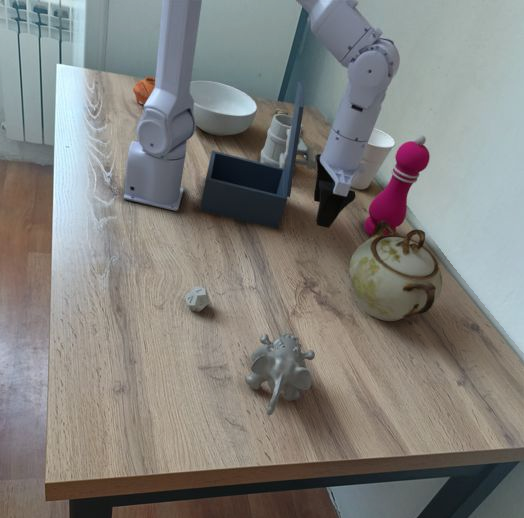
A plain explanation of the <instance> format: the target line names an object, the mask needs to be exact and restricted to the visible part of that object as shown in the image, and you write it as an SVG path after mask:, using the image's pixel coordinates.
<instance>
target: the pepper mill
mask: <svg viewBox="0 0 524 518" xmlns="http://www.w3.org/2000/svg"><path fill="white" fill-rule="evenodd" d="M426 139H427V138H426V137H425V136H424V135H423V134H419V135H417V136H416V137H415V139H414V140H410V141H406V142H404V143H403V144H401V145H399V147H398V148H397V150H396V153H395V156H394V157H395V163H394V164H393V166H392V169H391V172H390V174H391V177H390V180H389V182H388V184H387V185H386V187H384V188H383V190H382V191H381V192H379V194H377V195H376V196H375V197H374V198H373V200H372V201H371V203H370V204H369V207H368V215H369V216H367V218H366V219H365V221H364V224H363V229H364V232H366V234H368V236H370V237H372V236H373V230H374V228H375V226H376V224H377V223H378V222H380V221H386V222H387V223H388V224H389V225H390V227H391V228H392V229H393V230H394V231H395V232H396V233H397V227H399V226H401V225H403V223H404V221H405V219H406V216H407V211H408V208H407V207H408V206H407V205H408V203H407V202H408V194H409V192H410V189H411V187H412V186H413V184H414V183H417V182H418V178H419V177H420V172H423V171H424V170H425V169H426V168H427V167H428V165H429V162H430V157H431V156H430V155H431V154H430V151H429V149H428V148H427V147H426V146H425V145H424V144H425V143H426V141H427V140H426ZM380 230H381V229H380ZM383 235H390V233H389V232H388V230H386V231H385V233H384V234H383Z"/></svg>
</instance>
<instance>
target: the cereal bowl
mask: <svg viewBox="0 0 524 518" xmlns="http://www.w3.org/2000/svg"><path fill="white" fill-rule="evenodd" d="M189 92H190V94H191V96H192V98H193V100H194V107H193V112H194V116H195V120H196V127H198V128H199V129H200V130H202V131H203V132H205V133H207V134H210V135H214V136H221V137H222V136H223V137H224V136H229V135H231V136H232V135H237V134H240V133H243V132H244V131H246V130H247V129H249V128H250V127H251V125H252V124H253V122H254V120H255V117H256V115H257V111H258V105H257V103H256V101H255V100H254V99H253V98H252V97H251V96H249V94H247V93H245V92H244V91H242V90H240V89H238V88H236V87H233V86H231V85H227V84H226V83H225V84H224V83H221V82H217V81H210V80H191V84H190V91H189Z"/></svg>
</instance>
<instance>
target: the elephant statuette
mask: <svg viewBox="0 0 524 518" xmlns="http://www.w3.org/2000/svg"><path fill="white" fill-rule="evenodd" d="M259 342H260V343H261V346H258V347H257V348H256V349H254V350H253V351H252V353H251V356H250V358H251V362H252V364H251V367H250V371H251V372H252V374H249V375H247V376H245V377H246V378H245V382H246V384H247V385H248V386H249V387H250V388H251V389H253V390H259V389H260V388H261V385H262V384H264V383H265V382H267V383H266V384H267V387H269V390H271V391H272V396H271V398H270V401H269V403H268V405H267V408H266V411H265V412H266V415H267V416H272V415H273V414H274V411H275V409H276V407H277V403H278V401H279V396H280V395H281V393H282V392H283V391H284V392H283V399H284V400H285V401H287V402H289V401H290V402H291V401H297V400H298V399H300V396H301V394H300V391H299V390H302V391H303V390H306V391H308V390H309V389H310V388H311V386H312V382H313V377H312V373H311V372H310V370H309V369H308V368H307V363H306V360H308V361H313V360H314V359H315V358H316V354H315V351H314V350H313V349H308V350H307V351H305V352H304V353H303V352H302V349H301V347H302V344H301V343H300V341H299V337H298V336H294V335H293V334H292V333H291V332H290V333H286V332H283V333H282V334H281V336H277V337H276V339H275V340H270V338H269V334H268V333H265V334H262V335H260V337H259Z"/></svg>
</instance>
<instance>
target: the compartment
mask: <svg viewBox="0 0 524 518" xmlns="http://www.w3.org/2000/svg"><path fill="white" fill-rule="evenodd" d="M204 182H205V183H204V186H203V192H202V196H201V202H200V208H199V212H204V213H208V214H212V215H215V216H220V217H225V218H228V219H232V220H237V221H242V222H245V223H250V224H254V225H259V226H262V227H263V226H264V227H266V228H272V229H276V230H279V228H280V224H281V222H282V219H283V215H284V212H285V209H286V205H287V202H288V197H286V169H284V168H280V167H276V166H272V165H268V164H264V163H261V161H260V162H259V161H256V160H252V159H249V158H244V157H240V156H237V155H231V154H229V153H223V152H220V151H216V150H213V149H212V150H211V153H210V157H209V163H208V166H207V172H206V175H205V181H204Z"/></svg>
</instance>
